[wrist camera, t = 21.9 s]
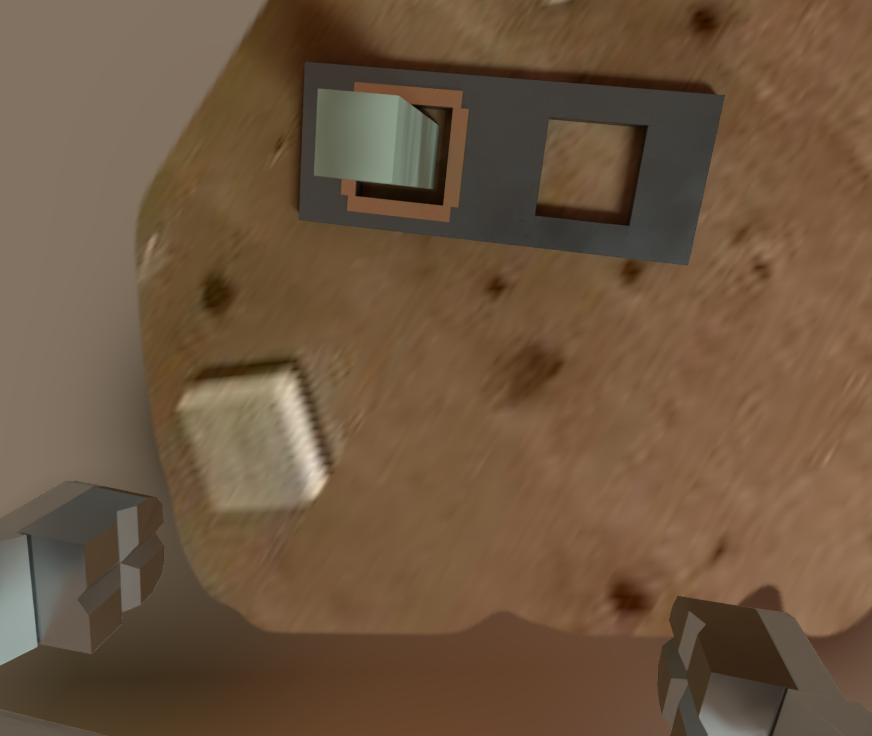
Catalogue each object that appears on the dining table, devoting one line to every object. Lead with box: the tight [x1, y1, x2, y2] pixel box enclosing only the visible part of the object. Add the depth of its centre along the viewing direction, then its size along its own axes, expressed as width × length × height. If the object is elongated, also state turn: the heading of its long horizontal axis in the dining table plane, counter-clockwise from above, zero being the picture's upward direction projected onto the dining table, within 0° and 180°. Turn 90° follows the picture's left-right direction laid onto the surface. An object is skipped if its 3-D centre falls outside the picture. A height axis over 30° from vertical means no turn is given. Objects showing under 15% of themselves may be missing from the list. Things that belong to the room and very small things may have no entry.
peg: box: [314, 89, 440, 189], centre depth 35 cm, size 4×4×12 cm
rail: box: [299, 62, 725, 265], centre depth 39 cm, size 26×10×2 cm, turn 84°
